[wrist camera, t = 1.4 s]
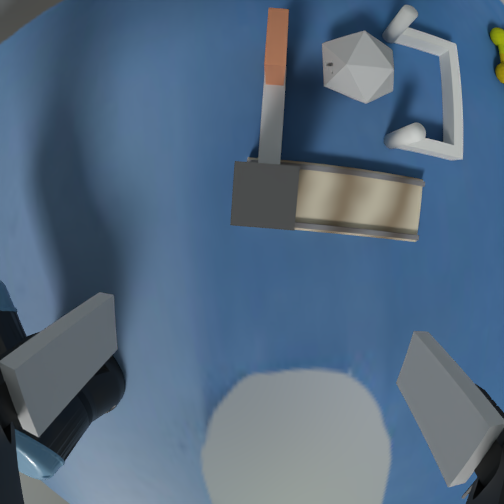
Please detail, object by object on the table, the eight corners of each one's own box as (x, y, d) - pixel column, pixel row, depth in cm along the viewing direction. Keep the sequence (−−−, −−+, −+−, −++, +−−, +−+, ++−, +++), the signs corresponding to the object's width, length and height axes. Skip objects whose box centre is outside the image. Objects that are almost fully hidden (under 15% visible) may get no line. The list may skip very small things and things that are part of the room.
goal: (383, 147, 35) (409, 139, 27) (381, 29, 31) (401, 2, 24) (451, 162, 35) (484, 159, 27) (446, 49, 31) (473, 30, 23)
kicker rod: (244, 212, 37) (230, 225, 25) (257, 42, 33) (251, -14, 20) (286, 215, 37) (294, 230, 24) (297, 45, 33) (307, -10, 20)
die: (335, 37, 33) (303, 27, 26) (401, 41, 28) (388, 27, 22) (337, 96, 37) (307, 101, 31) (402, 103, 33) (389, 108, 26)
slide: (243, 224, 38) (242, 225, 36) (248, 158, 36) (247, 156, 35) (412, 240, 37) (418, 242, 36) (419, 179, 35) (424, 179, 34)
